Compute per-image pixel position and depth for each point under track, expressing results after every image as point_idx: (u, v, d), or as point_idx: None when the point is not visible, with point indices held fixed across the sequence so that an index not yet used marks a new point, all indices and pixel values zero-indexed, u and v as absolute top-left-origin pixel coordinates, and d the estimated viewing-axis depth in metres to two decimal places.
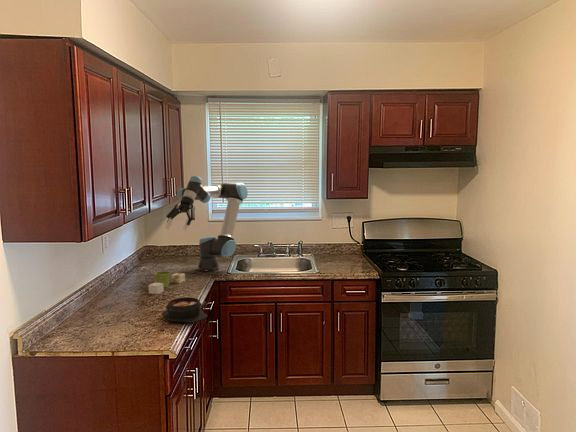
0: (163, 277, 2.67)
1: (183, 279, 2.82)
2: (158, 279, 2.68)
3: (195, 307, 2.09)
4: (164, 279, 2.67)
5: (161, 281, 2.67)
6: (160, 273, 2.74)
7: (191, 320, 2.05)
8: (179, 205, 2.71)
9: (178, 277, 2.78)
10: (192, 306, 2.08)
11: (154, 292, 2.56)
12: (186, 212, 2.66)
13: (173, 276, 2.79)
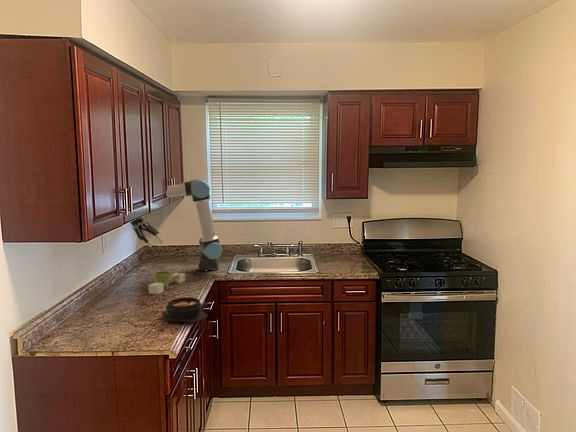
0: (163, 277, 2.67)
1: (183, 279, 2.82)
2: (158, 279, 2.68)
3: (195, 307, 2.09)
4: (164, 279, 2.67)
5: (161, 281, 2.67)
6: (160, 273, 2.74)
7: (191, 320, 2.05)
8: None
9: (178, 277, 2.78)
10: (192, 306, 2.08)
11: (154, 292, 2.56)
12: None
13: (173, 276, 2.79)
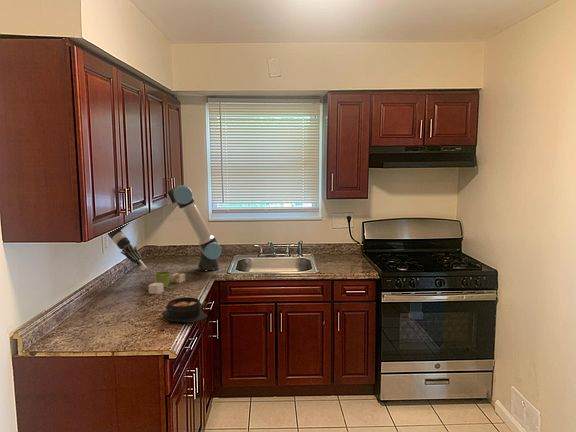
0: (163, 277, 2.67)
1: (183, 279, 2.82)
2: (158, 279, 2.68)
3: (195, 307, 2.09)
4: (164, 279, 2.67)
5: (161, 281, 2.67)
6: (160, 273, 2.74)
7: (191, 320, 2.05)
8: None
9: (178, 277, 2.78)
10: (192, 306, 2.08)
11: (154, 292, 2.56)
12: None
13: (173, 276, 2.79)
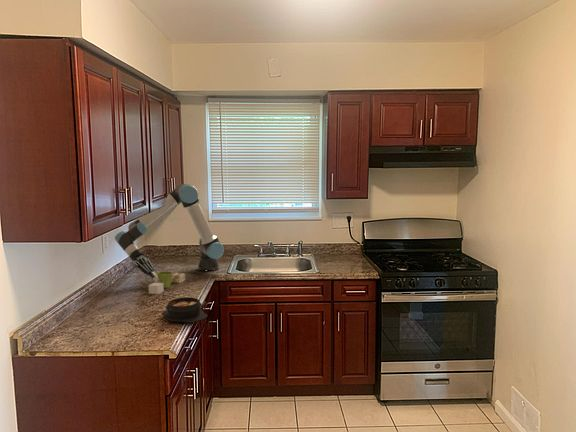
0: (165, 277, 2.66)
1: (183, 279, 2.82)
2: (159, 279, 2.67)
3: (195, 307, 2.09)
4: (166, 279, 2.67)
5: (163, 281, 2.66)
6: (162, 273, 2.73)
7: (191, 320, 2.05)
8: None
9: (178, 277, 2.78)
10: (192, 306, 2.08)
11: (154, 292, 2.56)
12: None
13: (173, 276, 2.79)
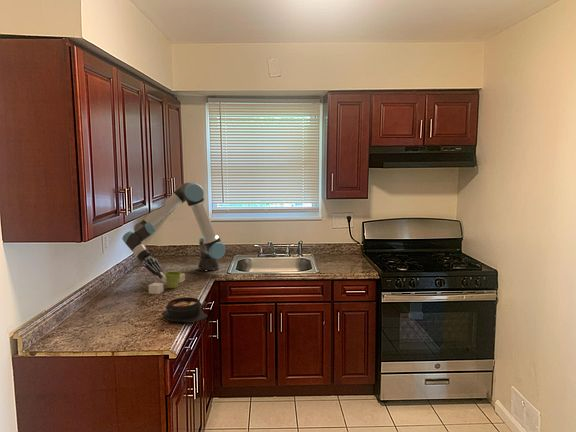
0: (173, 278, 2.65)
1: (183, 279, 2.82)
2: (167, 279, 2.66)
3: (195, 307, 2.09)
4: (174, 280, 2.65)
5: (171, 281, 2.65)
6: (170, 273, 2.72)
7: (191, 320, 2.05)
8: None
9: None
10: (192, 306, 2.08)
11: (154, 292, 2.56)
12: None
13: None
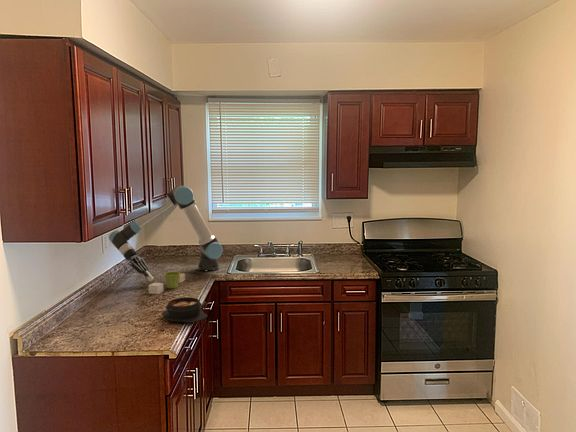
0: (172, 278, 2.65)
1: (183, 279, 2.82)
2: (167, 280, 2.66)
3: (195, 307, 2.09)
4: (173, 280, 2.66)
5: (171, 281, 2.65)
6: (169, 274, 2.72)
7: (191, 320, 2.05)
8: None
9: None
10: (192, 306, 2.08)
11: (154, 292, 2.56)
12: None
13: None
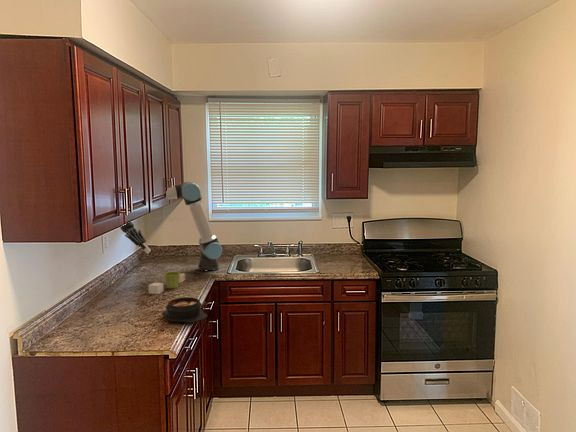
0: (173, 278, 2.65)
1: (183, 279, 2.82)
2: (167, 280, 2.66)
3: (195, 307, 2.09)
4: (173, 280, 2.66)
5: (171, 281, 2.65)
6: (169, 274, 2.72)
7: (191, 320, 2.05)
8: None
9: None
10: (192, 306, 2.08)
11: (154, 292, 2.56)
12: None
13: None
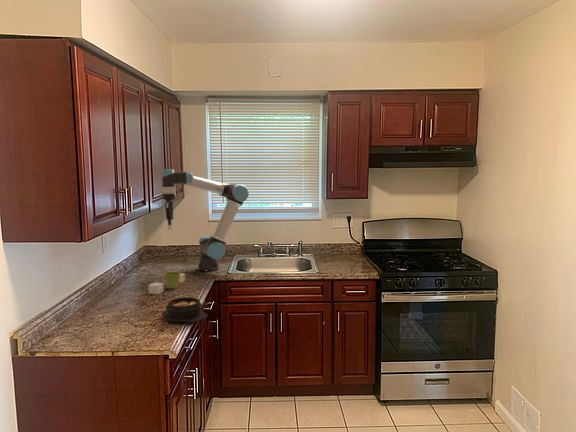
0: (172, 278, 2.65)
1: (183, 279, 2.82)
2: (167, 280, 2.66)
3: (195, 307, 2.09)
4: (173, 280, 2.66)
5: (171, 281, 2.65)
6: (169, 274, 2.72)
7: (191, 320, 2.05)
8: None
9: None
10: (192, 306, 2.08)
11: (154, 292, 2.56)
12: None
13: None
